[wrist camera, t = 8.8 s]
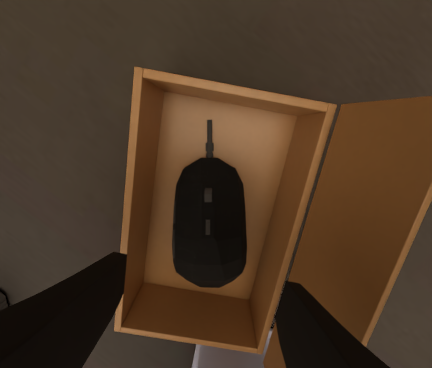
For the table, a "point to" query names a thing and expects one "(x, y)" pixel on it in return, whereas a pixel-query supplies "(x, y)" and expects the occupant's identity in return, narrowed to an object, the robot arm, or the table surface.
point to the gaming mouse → (209, 222)
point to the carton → (253, 193)
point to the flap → (364, 212)
